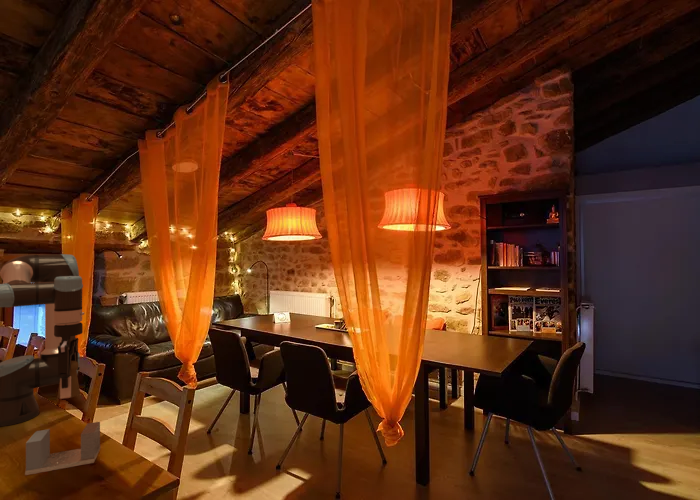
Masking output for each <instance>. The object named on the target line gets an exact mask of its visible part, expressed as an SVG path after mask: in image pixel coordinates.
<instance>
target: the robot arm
mask: <svg viewBox="0 0 700 500" xmlns="http://www.w3.org/2000/svg"><path fill="white" fill-rule="evenodd" d="M78 265H79V264H78V261H77V258H76V257H75V256H74V255H73V254H67V253H65V254H64V253H58V254H57V253H56V254H54V253H52V254H51V253H50V254H49V253H48V254H47V253H46V254H44V253H43V254H32V253H31V254H26V255H25V254H24V255H20V256H16V257H13V258H11V259H10V260H7V261H6V262H5V263H4V264H3V265H2V266H1V268H0V278H1V280H2V283H0V308H9V309H10V308H12V307H13V308H15V307H25V306H26V307H27V306H39V305H44V316H45V319H44V320H45V323H44V328H45V329H44V333H45V335H44V338H45V340H44V341H45V345H44V350H42V351H41V352H40V357H38V358H35V357H34V355H32V354H29V355H20V356H16V357H12V358H9V359H6V360H2V361H1V362H0V427H7V426H11V425H13V426H14V425H17V424H21V423H24V422H26V421H30V420H31V419H33V418H36V417H37V416H38V415H39V414H40V406H39V404H38V402H37V400H36V397H35V394H34V393H35V392H34V390H35V389H38V388H43V387H48V386H53V385H59V383H60V400H61V399H62V398H65V399H69V397H71V376H70V368H71V361H77V362H78V364H79V365H78V369H77V370H76V371H77V375H78V374H79V370H80V368H81V367H80V360H81V359H80V357H81V356H80V355H81V354H80V352H79V337H76V336H79V335H82V334H83V327H84V326H83V323H82V321H83V316H84V315H85V312H84V311H83V288H84V284H83V278H82V276H81V275H80V271H79V266H78ZM71 398H72V397H71Z"/></svg>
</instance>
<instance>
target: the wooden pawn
mask: <svg viewBox="0 0 700 500" xmlns="http://www.w3.org/2000/svg"><path fill="white" fill-rule="evenodd" d="M78 365H79V366H80V363H79V364H78V362H77V361H71V368H70V376H71V397H69V398H74V397H77V396H79V395H80V394H81V391H80V384H79V378H78V374H77V371H76V370H77V369H78ZM56 398H57V399H60V383H59V384H58V390H57V397H56ZM69 398H68V399H69ZM62 399H64V400H65V399H66V398H62ZM60 400H61V399H60Z"/></svg>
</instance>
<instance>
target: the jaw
mask: <svg viewBox="0 0 700 500" xmlns="http://www.w3.org/2000/svg"><path fill="white" fill-rule="evenodd" d="M50 435H51V429H50V428H48V429H43V430H35V432H34V433H33V434H32V435H31V437H30V438H29V439H28V440H27V441H26V442H25V471H26V470H30V469H36V468H41V466H42V465H43V464H44V462H45V461H46V459H47V458H48V456H49V455H50V454H51V436H50Z"/></svg>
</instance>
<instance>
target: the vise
mask: <svg viewBox="0 0 700 500" xmlns="http://www.w3.org/2000/svg"><path fill="white" fill-rule="evenodd" d="M100 451H101V422H100V421H95V422H87V424H86V425H85V426H84V428H83V430H82V431H81V433H80V448H76V449H71V450H70V449H69V450H66V451H65V450H64V451H59V452H53V453H50V455H49V456H48V458H47V459H46V461H45V462H44V464H43V465H42V466H41V468H36V469H30V470H26V469H25V471H24V476H29V475H35V474H40V473H45V472H51V471H57V470H62V469H66V468H67V469H68V468H73V467H77V466H83V465H88V464H89V465H90V464H94V463H95V461H96V459H97V457H98V454H99V453H100Z"/></svg>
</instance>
